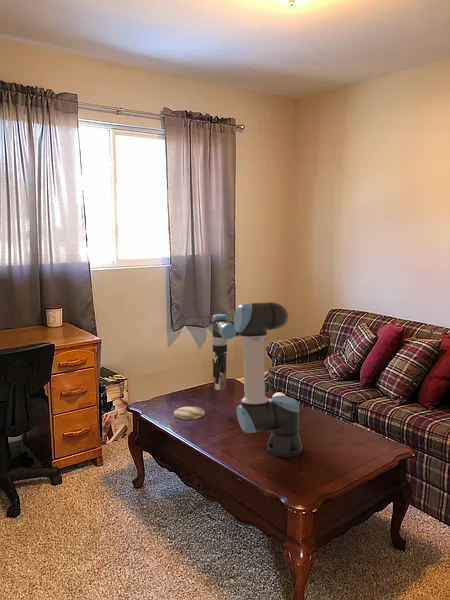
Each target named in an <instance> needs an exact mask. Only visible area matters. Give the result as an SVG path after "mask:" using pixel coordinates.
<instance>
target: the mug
mask: <svg viewBox="0 0 450 600" xmlns="http://www.w3.org/2000/svg"><path fill="white" fill-rule="evenodd" d="M274 396H287V395H286V394H285V393H284V392H275V393H274V394H273V395H272V397H274ZM268 399H269V402H271V401H272V398H268Z"/></svg>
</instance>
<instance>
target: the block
mask: <svg viewBox="0 0 450 600" xmlns="http://www.w3.org/2000/svg"><path fill="white" fill-rule="evenodd" d="M226 388H227V372H226V373H225V372H220V390H219V391H223V390H225V389H226ZM213 390H217V389H215V377H213ZM217 391H218V390H217Z"/></svg>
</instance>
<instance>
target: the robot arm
mask: <svg viewBox="0 0 450 600" xmlns="http://www.w3.org/2000/svg"><path fill="white" fill-rule="evenodd" d="M288 320H289V313H288V310H287V309H286V308H285V306H284V305H282V304H280V303H277V302H272V301H269V302H253V303H251V302H249V303H242V304H240V305H238V306H237V308H236V309H235V312H234V316H233V321H228V316H227V314H223V313H216V314H213V315H212V322H211V323H212V336H211V337H212V340H211V341H212V352H213V353H215V355H214V358H212V377H213V378H214V377H215V389H214V390H216V389H217V391H221V390H220V372H225V373H226V374H227V352H228V345H227V344H228V341H229V340H230V339H233V338H235V337H240V338H241V339H242V347H243V348H242V352H243V353H242V354H243V383H244V385H243V386H244V387H243V388H244V396H243V397H242V398H241V399H240V401H241V402H240V403H241V404H239V405H237V407H236V417H237V423H238V425H239V426H240V428H241V430H242V431H243V432H244V433H246V434H247V433H248V434H250V433H255V434H256V433H258V432H266V431H271V432H270V434H269V437H268V440H267V443H266V446H267V447H266V450H267V452H268V453H269V454H270V455H272V456H275V457H281V458H294V457H297V456H299V455H301V454H302V452H303V444H302V441H301V438H300V435H299V426H300V425H299V424H300V423H299V422H300V405H299V402H298V400H296V399H295V398H293V397H290V396H287V395H286V396H274V397H273V396H272V397H271V399H272V401H271V402H269V399H270V398H268V397H267V396H266V384H265V383H266V382H265V352H264V351H265V348H264V347H265V346H264V340H265V338H266V337H267V336H268V331H273V330H278V329H281V328H283V327H284V326H286V324H287V323H288Z"/></svg>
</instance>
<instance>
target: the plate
mask: <svg viewBox="0 0 450 600" xmlns="http://www.w3.org/2000/svg"><path fill="white" fill-rule="evenodd" d="M205 414H206V412H205V410H204V409H203V408H201V407H197V406H183V407H179V408H176V409H175V410H174V412H173V416H174V417H175V418H177V420H178V419H179V420H185V421H193V420H198V419H202V418H203V417H204V416H205Z"/></svg>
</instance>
